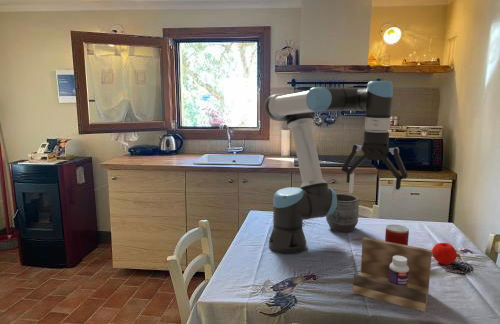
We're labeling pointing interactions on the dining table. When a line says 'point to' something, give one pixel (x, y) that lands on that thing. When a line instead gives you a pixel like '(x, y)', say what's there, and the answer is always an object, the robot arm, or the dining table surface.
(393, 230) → the canned food
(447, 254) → the apple
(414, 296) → the cleat board
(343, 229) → the planter
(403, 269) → the pill bottle
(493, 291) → the dining table surface
